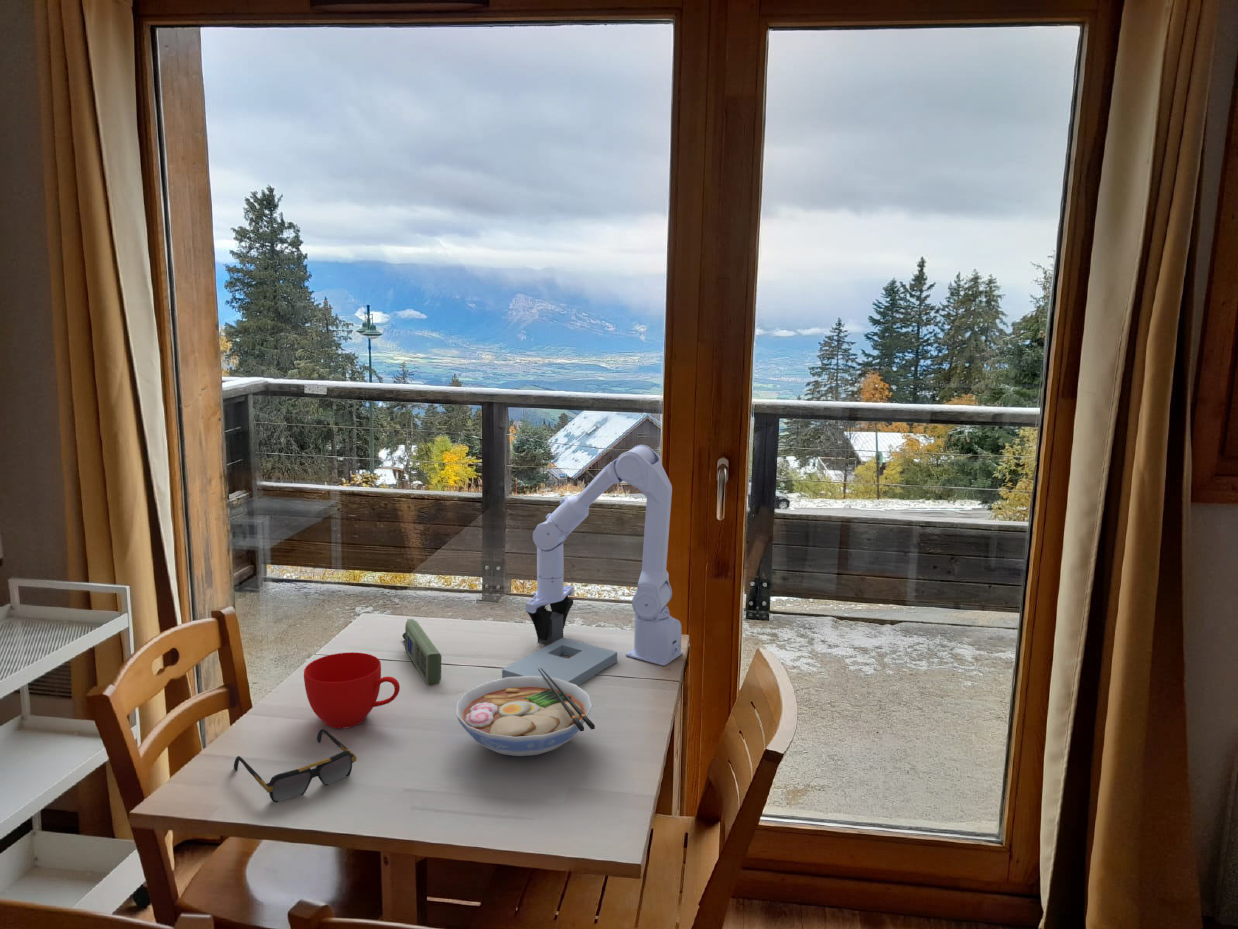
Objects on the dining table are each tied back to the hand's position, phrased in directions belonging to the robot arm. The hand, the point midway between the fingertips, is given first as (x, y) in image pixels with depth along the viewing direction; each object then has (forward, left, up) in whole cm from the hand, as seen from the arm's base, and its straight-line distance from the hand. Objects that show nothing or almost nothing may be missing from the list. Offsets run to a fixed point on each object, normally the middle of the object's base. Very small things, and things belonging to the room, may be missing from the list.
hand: (550, 634), depth 195 cm
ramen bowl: (-24, +39, -2) cm, 46 cm away
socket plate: (-11, +11, -1) cm, 16 cm away
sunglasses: (0, +66, -2) cm, 66 cm away
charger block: (0, 0, -2) cm, 2 cm away
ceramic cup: (+6, +49, -2) cm, 49 cm away
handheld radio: (+16, +24, -2) cm, 29 cm away
